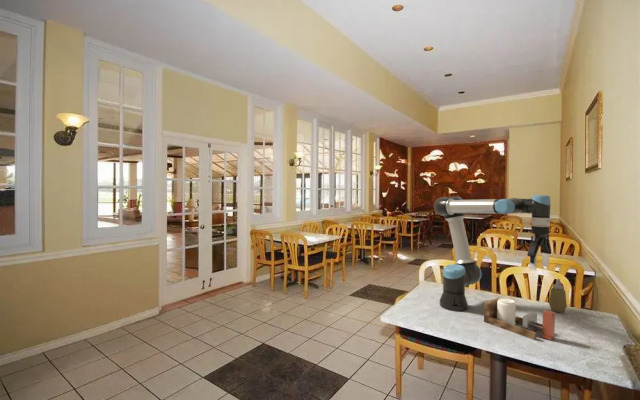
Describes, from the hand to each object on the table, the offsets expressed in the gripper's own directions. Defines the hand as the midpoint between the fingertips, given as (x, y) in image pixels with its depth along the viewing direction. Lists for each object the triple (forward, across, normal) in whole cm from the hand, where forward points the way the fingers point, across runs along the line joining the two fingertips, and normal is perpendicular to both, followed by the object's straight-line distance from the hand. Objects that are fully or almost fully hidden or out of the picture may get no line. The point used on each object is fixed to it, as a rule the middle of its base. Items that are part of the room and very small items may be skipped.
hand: (539, 268), depth 160 cm
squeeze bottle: (+29, +29, +2) cm, 41 cm away
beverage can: (+29, -13, +9) cm, 33 cm away
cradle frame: (+29, -13, +5) cm, 32 cm away
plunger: (+28, -13, -6) cm, 32 cm away
